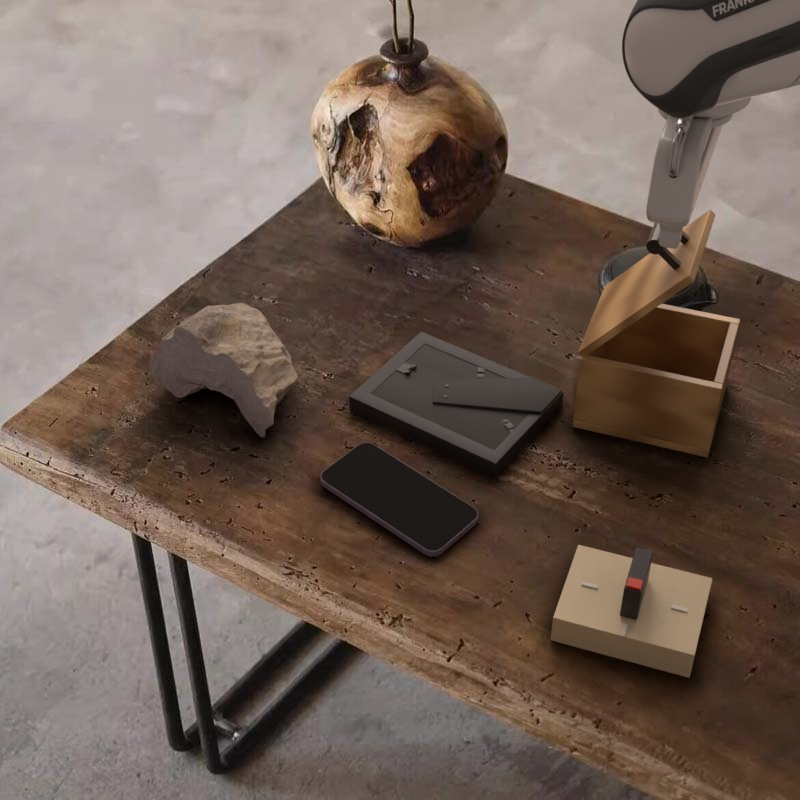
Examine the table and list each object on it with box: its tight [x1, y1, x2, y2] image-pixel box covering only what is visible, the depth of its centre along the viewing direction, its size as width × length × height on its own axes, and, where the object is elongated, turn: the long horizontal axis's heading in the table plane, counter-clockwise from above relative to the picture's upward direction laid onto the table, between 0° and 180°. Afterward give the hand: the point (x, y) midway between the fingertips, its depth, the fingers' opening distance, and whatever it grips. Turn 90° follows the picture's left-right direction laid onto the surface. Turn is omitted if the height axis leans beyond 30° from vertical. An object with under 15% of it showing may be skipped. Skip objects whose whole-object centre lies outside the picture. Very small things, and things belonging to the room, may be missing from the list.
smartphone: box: [319, 441, 479, 557], centre depth 126 cm, size 7×1×15 cm
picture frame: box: [348, 331, 565, 479], centre depth 136 cm, size 13×2×18 cm
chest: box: [572, 303, 741, 458], centre depth 134 cm, size 14×12×9 cm
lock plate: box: [550, 544, 713, 679], centre depth 114 cm, size 12×9×3 cm
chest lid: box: [577, 209, 716, 358], centre depth 127 cm, size 15×12×5 cm
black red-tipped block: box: [620, 547, 654, 620], centre depth 112 cm, size 5×2×4 cm, turn 161°
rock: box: [148, 302, 299, 438], centre depth 137 cm, size 16×13×10 cm
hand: (679, 217), depth 120 cm, fingers open, 8 cm apart
